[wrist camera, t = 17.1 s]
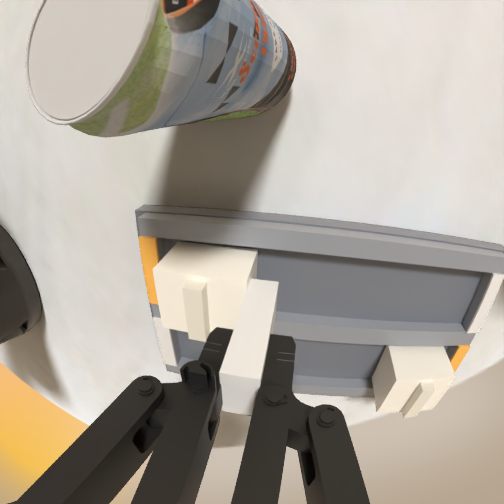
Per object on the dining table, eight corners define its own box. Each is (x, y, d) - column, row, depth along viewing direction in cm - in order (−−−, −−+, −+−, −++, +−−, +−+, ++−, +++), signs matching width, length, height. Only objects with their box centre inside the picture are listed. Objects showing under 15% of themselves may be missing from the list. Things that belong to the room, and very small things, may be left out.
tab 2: (183, 294, 19) (157, 335, 16) (178, 241, 18) (145, 277, 14) (255, 304, 19) (242, 351, 15) (258, 249, 17) (243, 291, 13)
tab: (371, 377, 20) (377, 421, 16) (387, 342, 18) (398, 389, 15) (423, 376, 20) (434, 417, 16) (442, 343, 18) (459, 385, 14)
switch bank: (168, 352, 25) (158, 371, 23) (144, 204, 18) (125, 216, 16) (438, 377, 21) (444, 395, 19) (501, 244, 15) (517, 259, 13)
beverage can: (313, 97, 14) (340, 38, 3) (195, 142, 16) (34, 200, 6) (270, 6, 12) (207, -132, 1) (159, 57, 14) (-7, 28, 3)
